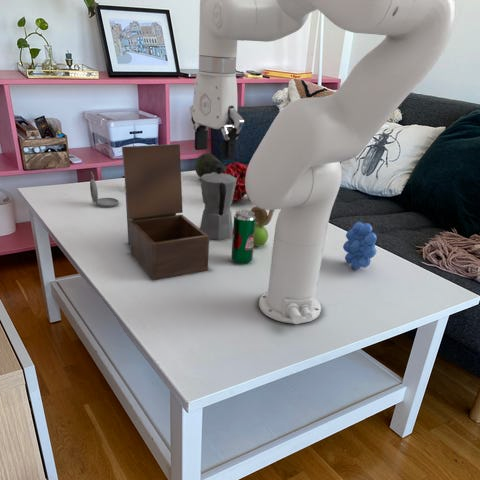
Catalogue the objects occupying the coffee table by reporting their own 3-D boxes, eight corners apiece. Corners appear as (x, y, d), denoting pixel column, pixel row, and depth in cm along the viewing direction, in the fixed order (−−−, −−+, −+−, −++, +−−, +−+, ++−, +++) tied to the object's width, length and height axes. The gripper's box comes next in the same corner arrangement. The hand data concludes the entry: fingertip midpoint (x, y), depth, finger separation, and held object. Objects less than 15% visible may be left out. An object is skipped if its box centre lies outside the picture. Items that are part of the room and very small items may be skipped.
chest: (208, 270, 112) (209, 236, 107) (153, 280, 106) (152, 244, 101) (181, 246, 122) (182, 214, 118) (130, 254, 116) (128, 220, 112)
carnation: (202, 200, 178) (260, 226, 154) (167, 170, 165) (224, 193, 141) (226, 164, 178) (288, 185, 153) (193, 131, 165) (254, 148, 140)
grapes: (383, 277, 115) (395, 229, 108) (358, 280, 113) (369, 231, 106) (357, 257, 124) (367, 212, 118) (334, 259, 122) (343, 213, 116)
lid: (179, 144, 111) (170, 142, 115) (122, 147, 105) (115, 144, 109) (182, 212, 117) (174, 208, 122) (129, 218, 111) (122, 214, 116)
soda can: (248, 266, 115) (252, 217, 108) (228, 262, 116) (231, 214, 110) (254, 258, 119) (259, 211, 113) (235, 254, 120) (238, 207, 114)
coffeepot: (196, 224, 136) (198, 158, 126) (229, 225, 137) (233, 159, 128) (202, 247, 123) (204, 175, 113) (238, 246, 124) (243, 176, 115)
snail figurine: (269, 251, 123) (274, 205, 117) (244, 247, 124) (248, 201, 118) (272, 243, 128) (277, 198, 122) (248, 240, 129) (252, 195, 122)
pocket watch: (123, 204, 146) (121, 170, 141) (102, 211, 140) (99, 176, 134) (103, 198, 149) (101, 165, 144) (82, 204, 143) (78, 170, 138)
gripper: (177, 62, 101) (177, 147, 110) (229, 71, 91) (225, 164, 99) (206, 62, 106) (204, 144, 115) (259, 71, 95) (252, 161, 104)
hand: (214, 154), depth 107 cm, fingers open, 9 cm apart
